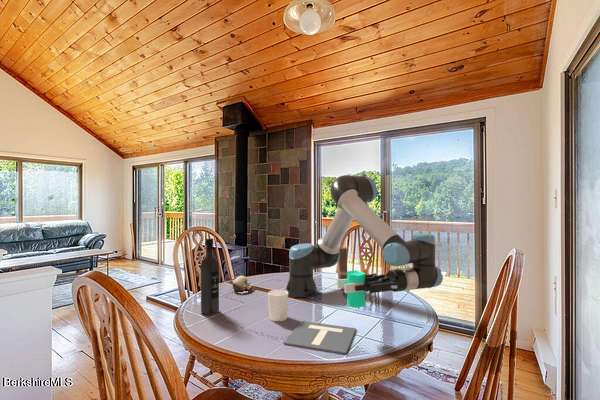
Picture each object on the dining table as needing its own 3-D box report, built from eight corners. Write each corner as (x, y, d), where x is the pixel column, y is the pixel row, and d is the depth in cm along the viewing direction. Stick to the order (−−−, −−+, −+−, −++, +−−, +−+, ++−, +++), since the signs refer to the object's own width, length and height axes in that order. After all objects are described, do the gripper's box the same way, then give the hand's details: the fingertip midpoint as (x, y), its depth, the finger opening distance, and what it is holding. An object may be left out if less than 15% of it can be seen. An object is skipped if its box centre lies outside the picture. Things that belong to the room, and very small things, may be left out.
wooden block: (348, 283, 167) (348, 250, 167) (340, 283, 167) (339, 250, 167) (346, 278, 176) (346, 247, 176) (338, 278, 176) (338, 247, 176)
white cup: (272, 324, 113) (272, 296, 113) (265, 316, 120) (264, 291, 120) (292, 320, 117) (291, 293, 117) (283, 313, 124) (283, 288, 124)
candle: (344, 301, 105) (344, 266, 104) (361, 300, 105) (361, 265, 105) (349, 307, 99) (349, 270, 98) (367, 307, 99) (367, 270, 99)
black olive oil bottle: (220, 311, 127) (219, 238, 126) (210, 315, 122) (209, 240, 121) (210, 308, 129) (209, 237, 129) (199, 313, 124) (199, 239, 124)
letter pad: (283, 344, 97) (283, 342, 97) (301, 322, 114) (301, 320, 114) (346, 354, 91) (346, 352, 91) (355, 329, 108) (355, 327, 108)
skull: (243, 283, 164) (251, 271, 159) (252, 299, 159) (261, 287, 154) (224, 287, 155) (232, 275, 150) (232, 305, 150) (241, 292, 145)
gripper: (418, 298, 99) (354, 306, 92) (386, 283, 116) (329, 289, 109) (418, 275, 99) (354, 281, 92) (386, 263, 116) (329, 268, 108)
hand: (341, 286), depth 100 cm, fingers closed on candle, 5 cm apart
